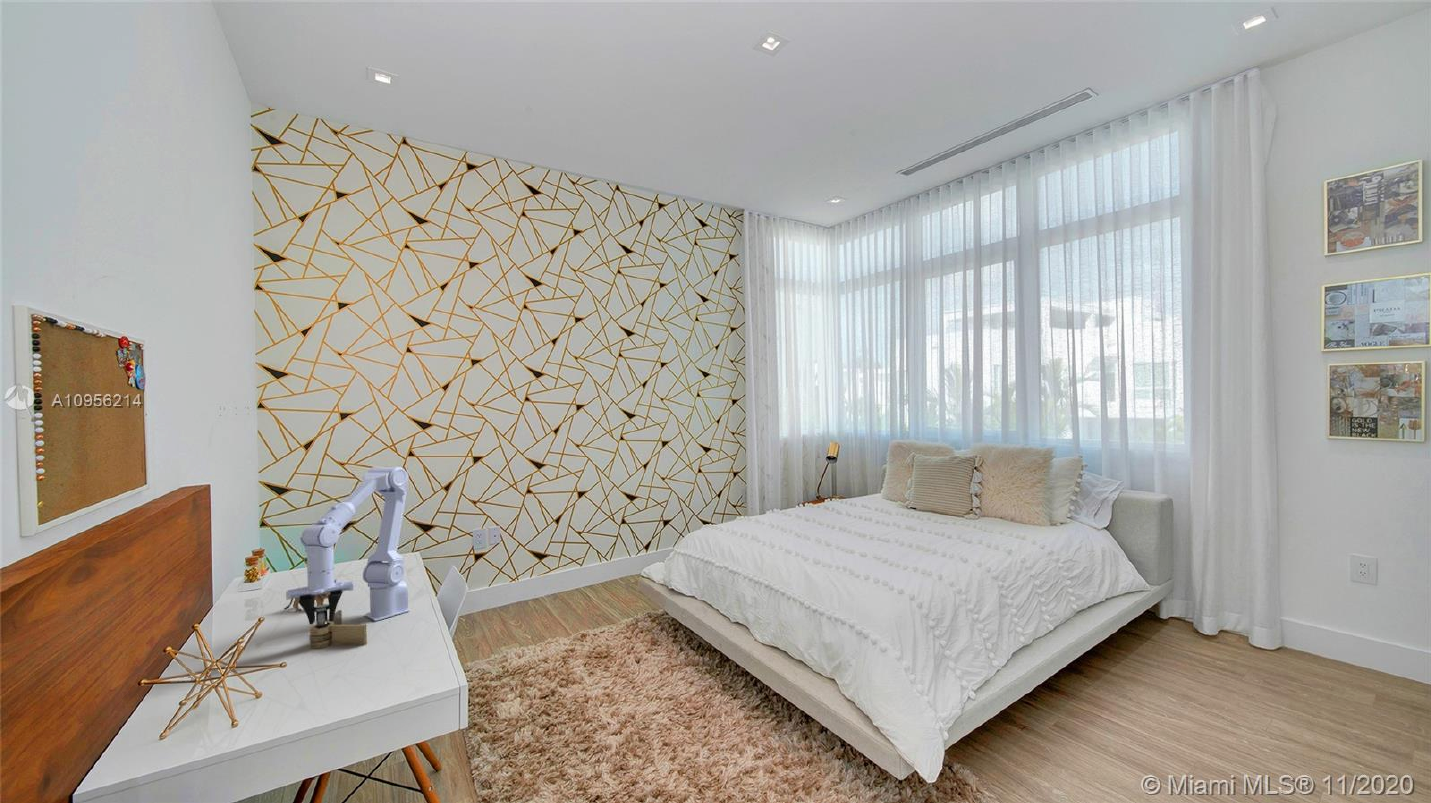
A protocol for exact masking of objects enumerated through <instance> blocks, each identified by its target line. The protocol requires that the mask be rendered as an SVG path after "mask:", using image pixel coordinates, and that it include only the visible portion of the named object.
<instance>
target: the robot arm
mask: <svg viewBox="0 0 1431 803" xmlns="http://www.w3.org/2000/svg"><path fill="white" fill-rule="evenodd" d="M409 477H410V476H409V474H408V472H407V471H406V470H405V468H403V467H401V466H394V467H393V466H391V467H387V466H386V467H384V466H383V467H382V466H381V467H378V466H372V467H371V468H369V469H368V471H367V472H365V473H364V474H363V475H362V480H361V482H360V483H359V484H358V486H357V487H356V488H355V489H354V490H353V491H352V492H351V493H350V495H349V496H347V498H346V499H345V500H344V502H336V503H333V504H332V505H331V506H330V509H329V510H328V511H327V512H326V513H325V514H324V515H323V516H322V517H320V518H319V519H318V520H317V522H316V523H315V524H310V525H308V526H307V527H306V528H305V529H304V530H303V531H302V535H301V537H299V539H300V543H301V544H302V546H303V547H304V552H305V553H306V569H307V570H306V573H307V576H306V577H307V586H304V587H303V588H301V587H297V588H298V589H297V588H293V589H288V590H287V591H286V593H285V594H286V595H285V596H286V597H285V598H286V600H291V599H292V598H294V599H295V598H297V597H300V600H299V604H298V605H300V606H301V607H302V608H301V609H302V610H304V612H305V615H306V617H307V620H308V624H309V625H314V623H316V612H313V608H314V607H315V602H316V600H315V595H319V594H326V593H331V594H330V595H329V596H328V598H327V601H328V604H329V609H328V611H329V613H328V619H329V622H330V621H333V620H334V616H335V613H336V612H337V611H336V610H337V607H338V604H339V602H340V599H341V597H342V595H343V593H344V592H346V591H349V592H350V591H351V592H352V591H354V590H355V588H356V587H355V586H356V585H355V584H356V583H355V581H354V580H353V581H340V582H337V581H336V583H334V579H335V555H334V554H335V550H334V547H335V544H336V543H337V542H338V541H339V538H340V534H341V532H342V529H343V528H345V527H346V526H347V524H349V522H350V521H351V520H352V519H354V517H355V516H356V509H357V508H359V506H361V505H362V504H363V502H365V501H366V500H367V499H368V498H370V497H371V496H372V494H374V493H375V492H377V493H379V494H381V496H383V498H384V499H385V500H384V506H383V511H382V518H381V522H380V528H379V533H378V539H377V546H376V551H375V552H373V553H372V554H371V555H370V556H369V557H368V559H367V563H366V565H365V567H364V568H363V571H362V580H363V581H364V582H365V583H366V584H367V587H369V607H370V609H369V610H370V611H369V612H367V613H365V614H364V616H365V617H367V618H368V619H370V620H372V621H373V622H377V621H380V620H384V619H385V620H386V619H389V618H390V617H395V616H397V615H401V614H405V613H408V612H410V609H409V590H408V585H407V583H406V580H403V578H404V574H405V567H404V560H405V559H404V558H403V556H402V555H401V554H399V553H398V547H399V541H400V536H401V535H400V534H401V530H402V523H403V518H404V512H405V507H406V506H405V505H406V498H407V495H408V494H407V492H408V491H407V488H408V482H409Z"/></svg>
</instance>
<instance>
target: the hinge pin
mask: <svg viewBox="0 0 1431 803" xmlns="http://www.w3.org/2000/svg"><path fill="white" fill-rule="evenodd" d="M328 611H329V603H326V604H323V605H319V606H317V605H316V606H314V608H313V612H315V624H316V627H317V628H322V627H326V626H328V619H329V615H328Z"/></svg>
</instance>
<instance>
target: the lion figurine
mask: <svg viewBox="0 0 1431 803" xmlns="http://www.w3.org/2000/svg"><path fill="white" fill-rule="evenodd" d="M336 582H337V579H336V578H334V583H336ZM298 588H299V587H297V588H296V589H298ZM300 588H303V587H300ZM330 594H331V593H326V594H319V595H315V602H316V606H319V605H324V601H325V600H326V599H327V600H328V596H329V595H330ZM299 600H300V597H297V598H292V599H290V602H289V604H288V605H287V606H286V607H284V608H283V610H284V611H285V610H288V609H290V607H291V605H292V607H293V609H295V612H297V611H298V612H301V611H302V608H299V605H300V604H299ZM292 603H293V604H292Z"/></svg>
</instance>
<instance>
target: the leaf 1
mask: <svg viewBox="0 0 1431 803" xmlns="http://www.w3.org/2000/svg"><path fill="white" fill-rule="evenodd" d="M342 612H343V611H342V609H339V610H337V611H335V616H334V620H333V622H334V625H343V622H342V621H343V617H342V616H343V613H342ZM328 621H329V618H328ZM329 638H332V632H329V633H326V634H322V635H311V634H310V633H309V642H310V641H313V642H316V641H324V640H326V639H329Z"/></svg>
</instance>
